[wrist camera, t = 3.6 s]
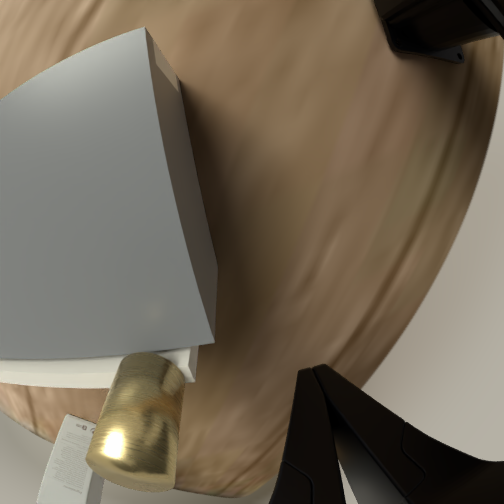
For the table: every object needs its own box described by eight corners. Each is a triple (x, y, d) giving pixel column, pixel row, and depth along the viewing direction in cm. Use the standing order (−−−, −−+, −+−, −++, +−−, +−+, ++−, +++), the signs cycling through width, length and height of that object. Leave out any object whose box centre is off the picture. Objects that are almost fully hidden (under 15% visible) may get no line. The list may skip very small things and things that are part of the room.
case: (178, 78, 12) (144, 26, 6) (218, 267, 15) (214, 342, 9) (-14, 164, 11) (-83, 181, 5) (27, 303, 15) (-24, 357, 9)
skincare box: (65, 411, 19) (26, 513, 7) (108, 426, 19) (80, 538, 8) (75, 442, 20) (49, 529, 9) (113, 455, 21) (95, 547, 10)
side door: (197, 266, 15) (162, 455, 5) (208, 305, 15) (198, 493, 5) (31, 298, 14) (-60, 403, 4) (46, 328, 15) (-30, 440, 5)
